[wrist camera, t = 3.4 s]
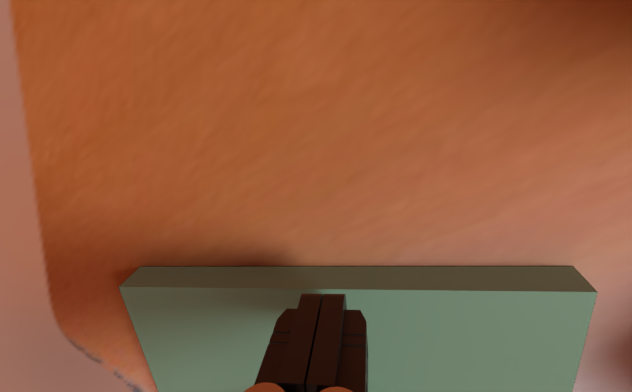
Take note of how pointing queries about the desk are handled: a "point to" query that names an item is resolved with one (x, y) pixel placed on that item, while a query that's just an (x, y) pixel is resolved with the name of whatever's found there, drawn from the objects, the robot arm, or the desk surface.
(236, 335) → the putting board
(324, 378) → the robot arm
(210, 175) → the desk surface
